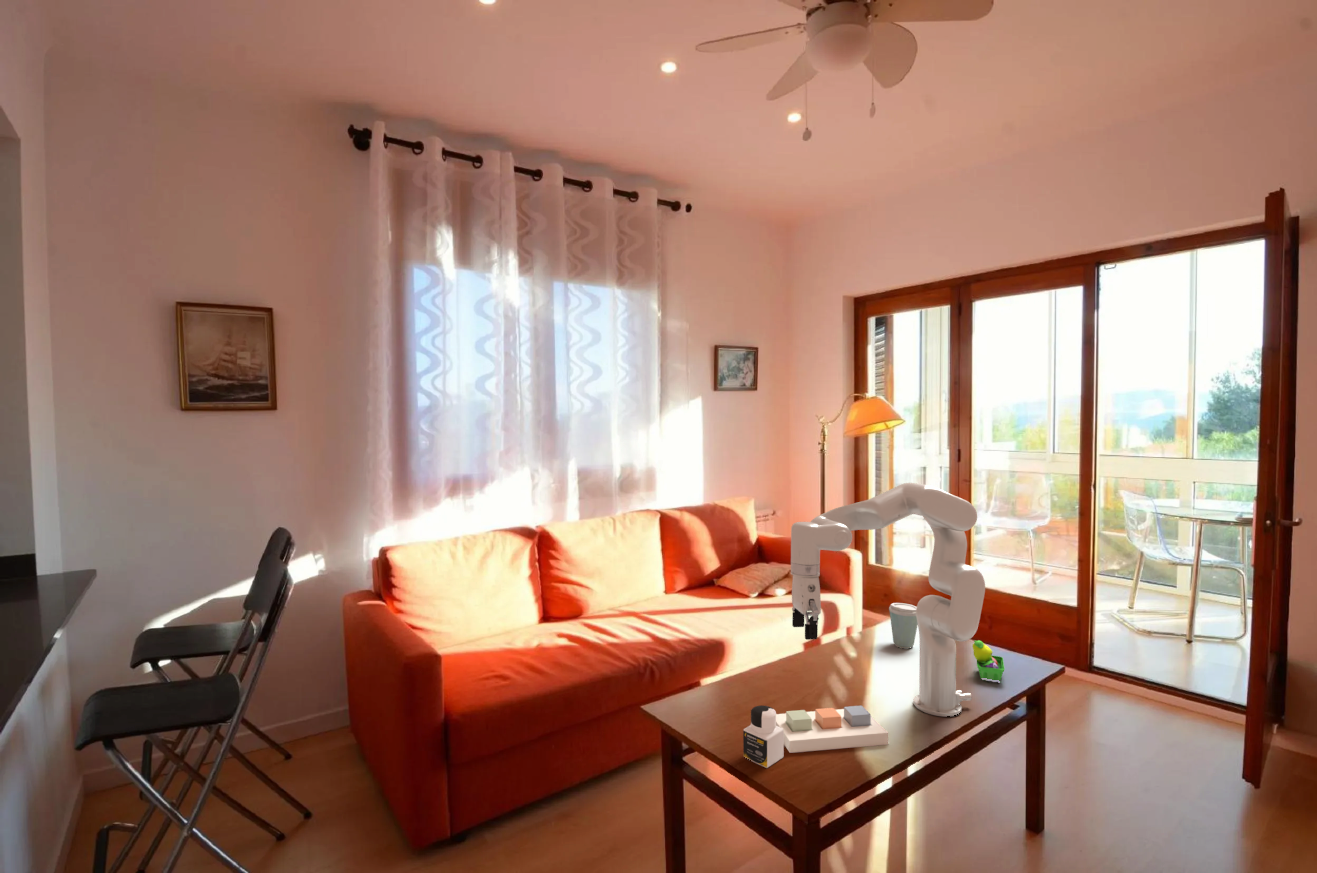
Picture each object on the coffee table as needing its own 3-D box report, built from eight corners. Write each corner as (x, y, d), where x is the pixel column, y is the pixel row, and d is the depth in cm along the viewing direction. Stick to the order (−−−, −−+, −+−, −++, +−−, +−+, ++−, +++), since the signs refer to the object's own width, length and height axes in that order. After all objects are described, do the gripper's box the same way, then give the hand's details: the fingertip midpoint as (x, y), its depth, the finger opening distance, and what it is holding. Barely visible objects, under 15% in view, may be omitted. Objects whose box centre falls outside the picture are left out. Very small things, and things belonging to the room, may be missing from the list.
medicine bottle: (742, 757, 154) (742, 709, 153) (760, 746, 159) (760, 699, 158) (766, 769, 149) (766, 718, 148) (784, 757, 154) (784, 708, 153)
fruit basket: (1004, 686, 193) (1005, 649, 193) (972, 681, 197) (972, 645, 197) (1002, 672, 204) (1002, 637, 203) (972, 667, 207) (972, 634, 207)
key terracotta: (833, 722, 167) (833, 707, 167) (841, 731, 162) (841, 716, 162) (815, 724, 167) (815, 709, 166) (822, 733, 162) (822, 718, 161)
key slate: (861, 720, 168) (861, 705, 168) (870, 729, 163) (870, 714, 163) (843, 721, 168) (843, 706, 168) (852, 730, 163) (852, 715, 163)
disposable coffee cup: (898, 638, 235) (898, 598, 234) (926, 646, 227) (926, 605, 226) (882, 645, 228) (883, 604, 228) (911, 654, 220) (911, 611, 219)
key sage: (804, 724, 166) (804, 709, 166) (811, 734, 161) (811, 718, 161) (786, 726, 165) (786, 711, 165) (792, 735, 160) (792, 720, 160)
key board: (862, 718, 173) (862, 707, 173) (888, 744, 159) (888, 732, 159) (771, 725, 170) (771, 714, 169) (789, 752, 156) (789, 740, 156)
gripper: (831, 576, 159) (830, 643, 160) (807, 561, 177) (806, 622, 177) (802, 577, 159) (802, 644, 159) (781, 562, 176) (780, 622, 176)
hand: (804, 632), depth 168 cm, fingers open, 9 cm apart
